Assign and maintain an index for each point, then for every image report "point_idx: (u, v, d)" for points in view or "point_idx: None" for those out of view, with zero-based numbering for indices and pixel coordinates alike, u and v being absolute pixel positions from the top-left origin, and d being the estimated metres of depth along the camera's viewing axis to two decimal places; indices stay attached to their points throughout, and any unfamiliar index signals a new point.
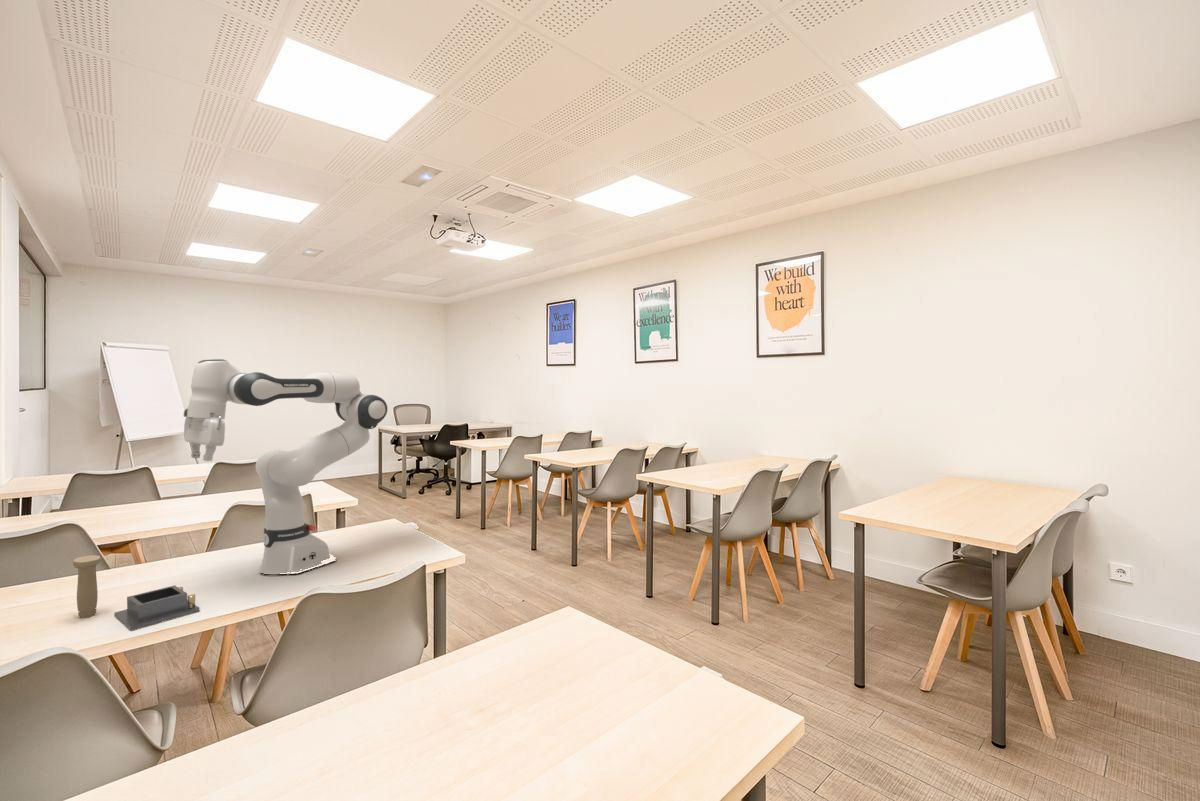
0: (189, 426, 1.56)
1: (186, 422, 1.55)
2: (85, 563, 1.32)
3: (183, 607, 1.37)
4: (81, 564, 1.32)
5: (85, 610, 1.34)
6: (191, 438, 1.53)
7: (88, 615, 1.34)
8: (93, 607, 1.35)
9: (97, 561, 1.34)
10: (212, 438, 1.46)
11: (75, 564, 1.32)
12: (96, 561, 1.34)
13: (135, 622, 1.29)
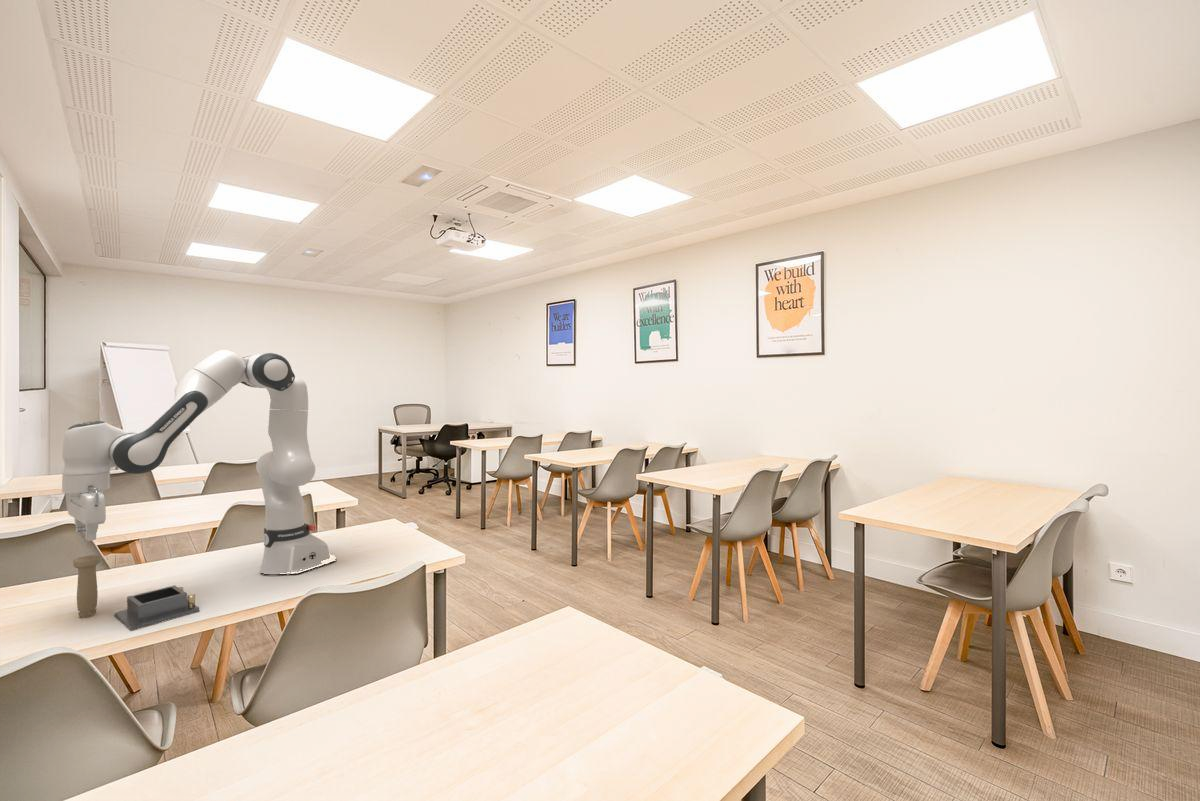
0: (70, 498, 1.37)
1: (66, 494, 1.37)
2: (85, 563, 1.32)
3: (183, 607, 1.37)
4: (81, 564, 1.32)
5: (85, 610, 1.34)
6: (73, 513, 1.35)
7: (88, 615, 1.34)
8: (93, 607, 1.35)
9: (97, 561, 1.34)
10: (89, 517, 1.28)
11: (75, 564, 1.32)
12: (96, 561, 1.34)
13: (135, 622, 1.29)
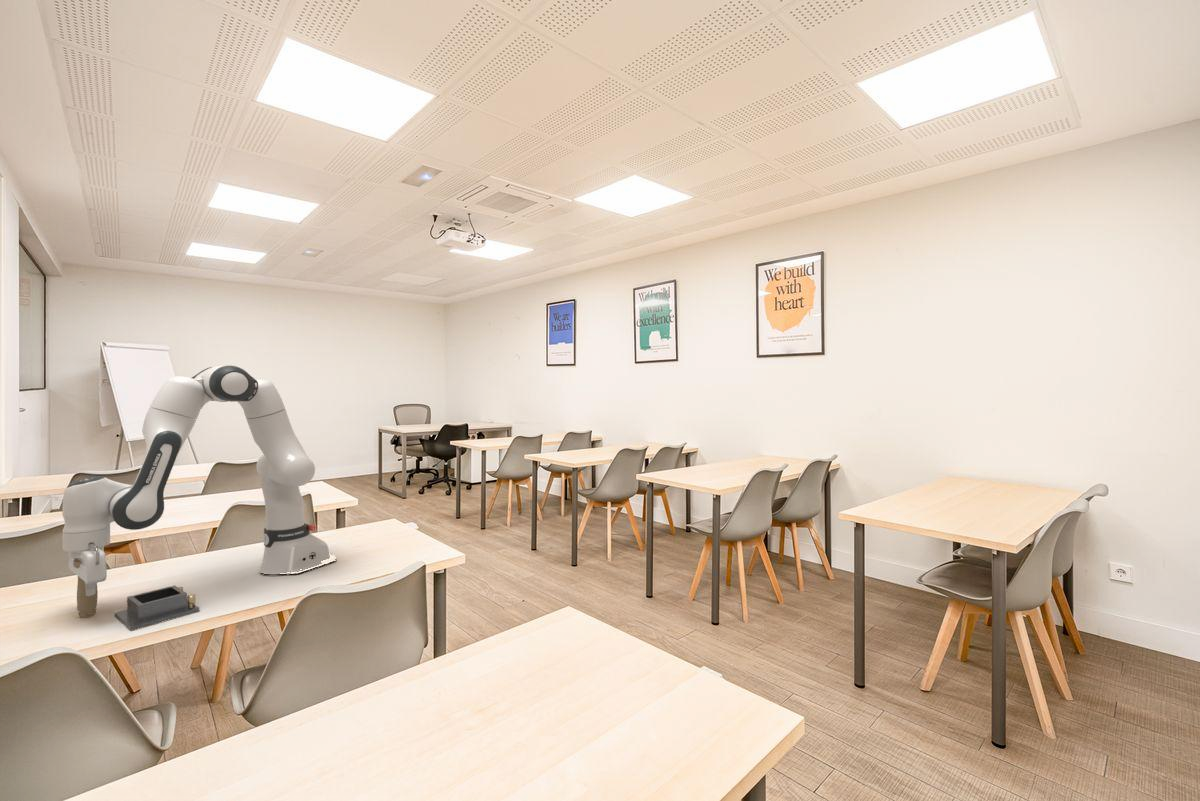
0: None
1: None
2: None
3: (183, 607, 1.37)
4: None
5: (85, 610, 1.34)
6: (74, 569, 1.35)
7: (88, 615, 1.34)
8: (93, 607, 1.35)
9: None
10: (90, 576, 1.28)
11: (75, 564, 1.32)
12: None
13: (135, 622, 1.29)
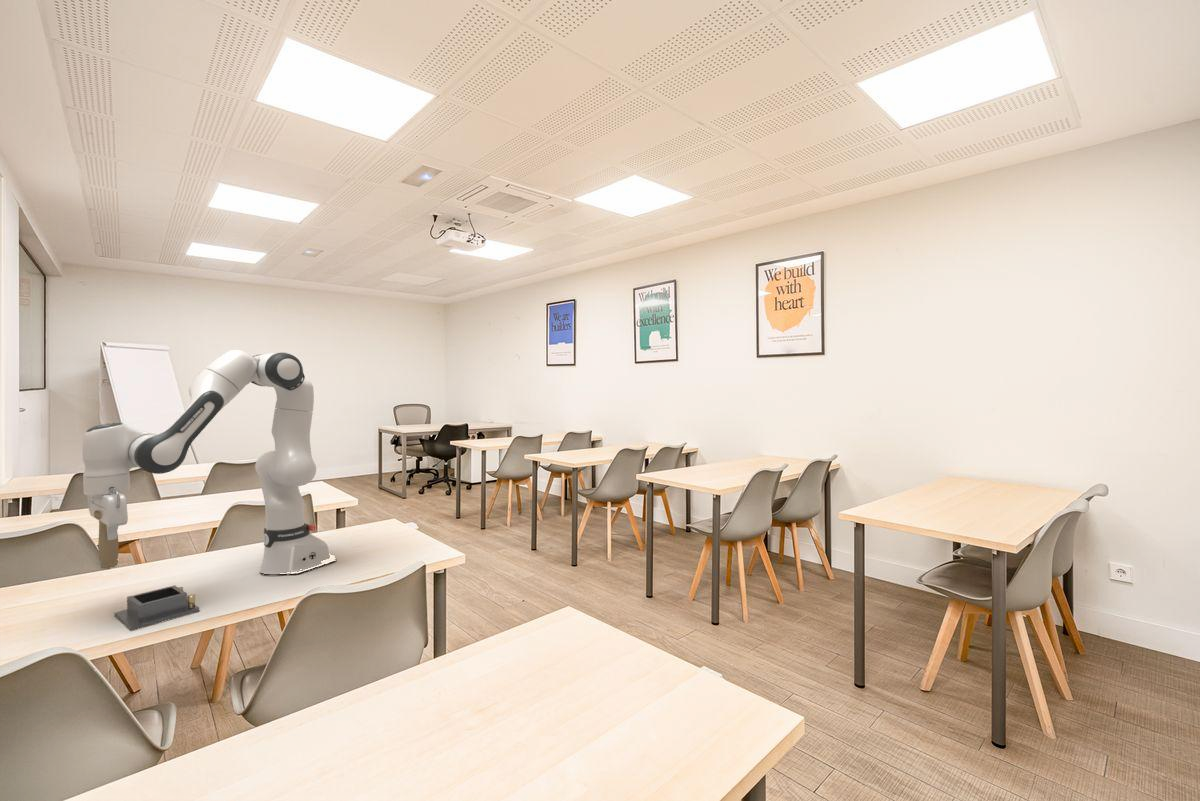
0: (92, 500, 1.38)
1: (88, 496, 1.38)
2: None
3: (183, 607, 1.37)
4: (101, 514, 1.32)
5: (107, 561, 1.34)
6: None
7: (110, 566, 1.35)
8: (114, 558, 1.35)
9: None
10: (111, 519, 1.29)
11: (96, 515, 1.33)
12: None
13: (135, 622, 1.29)
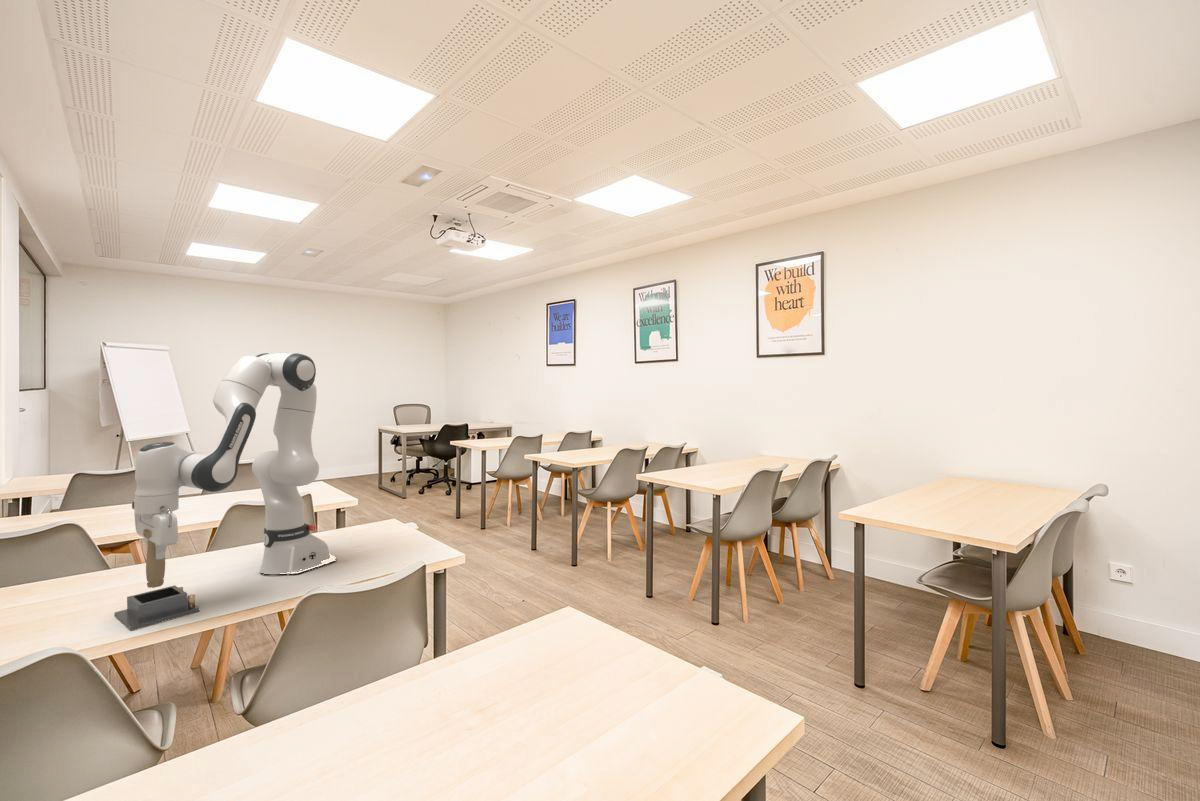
0: (140, 518, 1.39)
1: (136, 514, 1.39)
2: None
3: (183, 607, 1.37)
4: None
5: (154, 580, 1.35)
6: None
7: (156, 585, 1.35)
8: (161, 577, 1.36)
9: None
10: (163, 538, 1.29)
11: (145, 534, 1.33)
12: None
13: (135, 622, 1.29)
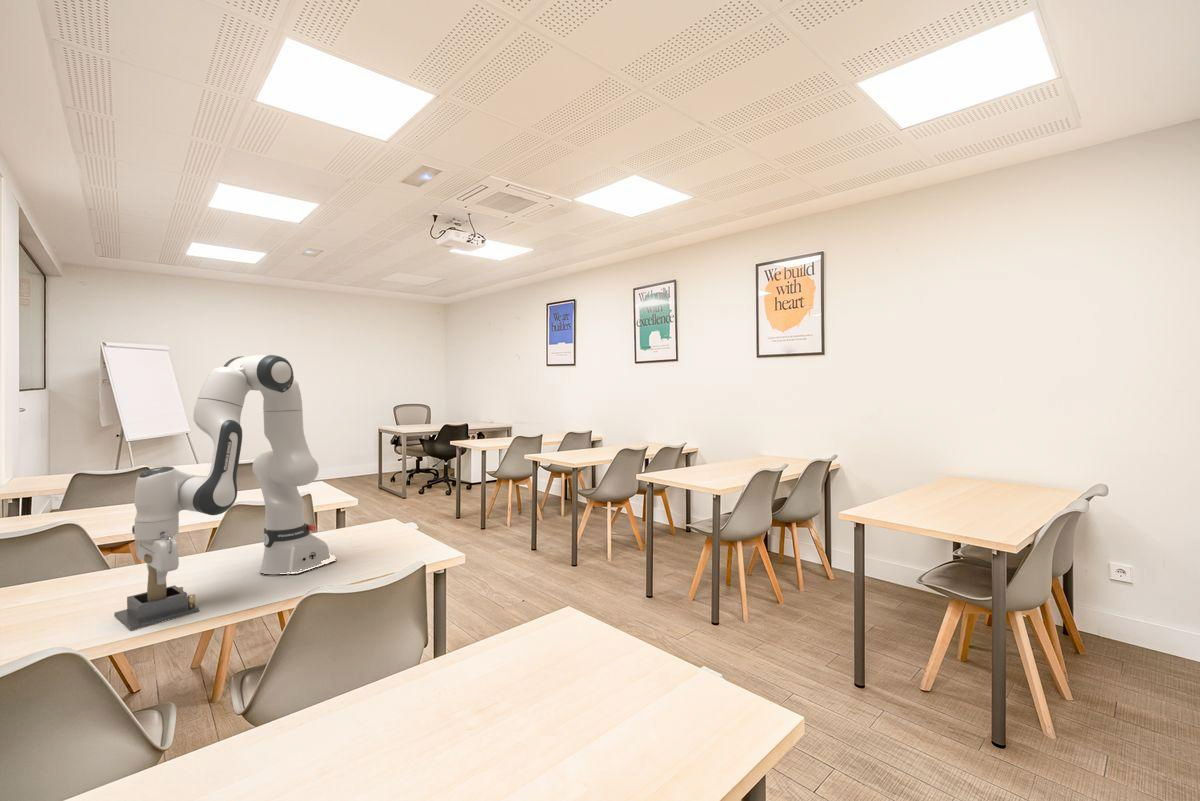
0: (140, 543, 1.39)
1: None
2: None
3: (183, 607, 1.37)
4: None
5: None
6: None
7: None
8: None
9: None
10: (164, 565, 1.30)
11: (146, 559, 1.34)
12: None
13: (135, 622, 1.29)
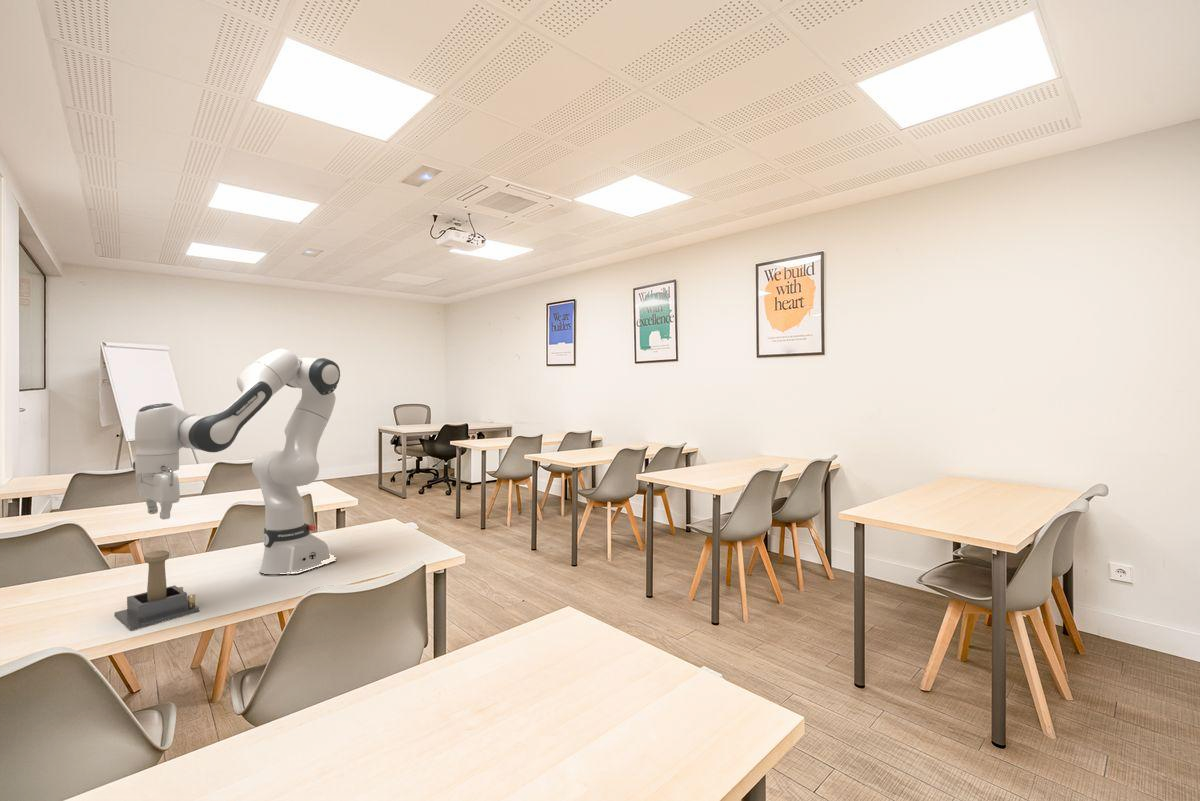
0: (141, 479, 1.40)
1: (137, 475, 1.40)
2: (156, 558, 1.34)
3: (183, 607, 1.37)
4: (152, 559, 1.33)
5: None
6: (145, 493, 1.38)
7: None
8: None
9: (166, 556, 1.36)
10: (165, 496, 1.31)
11: (146, 559, 1.34)
12: (166, 556, 1.35)
13: (135, 622, 1.29)
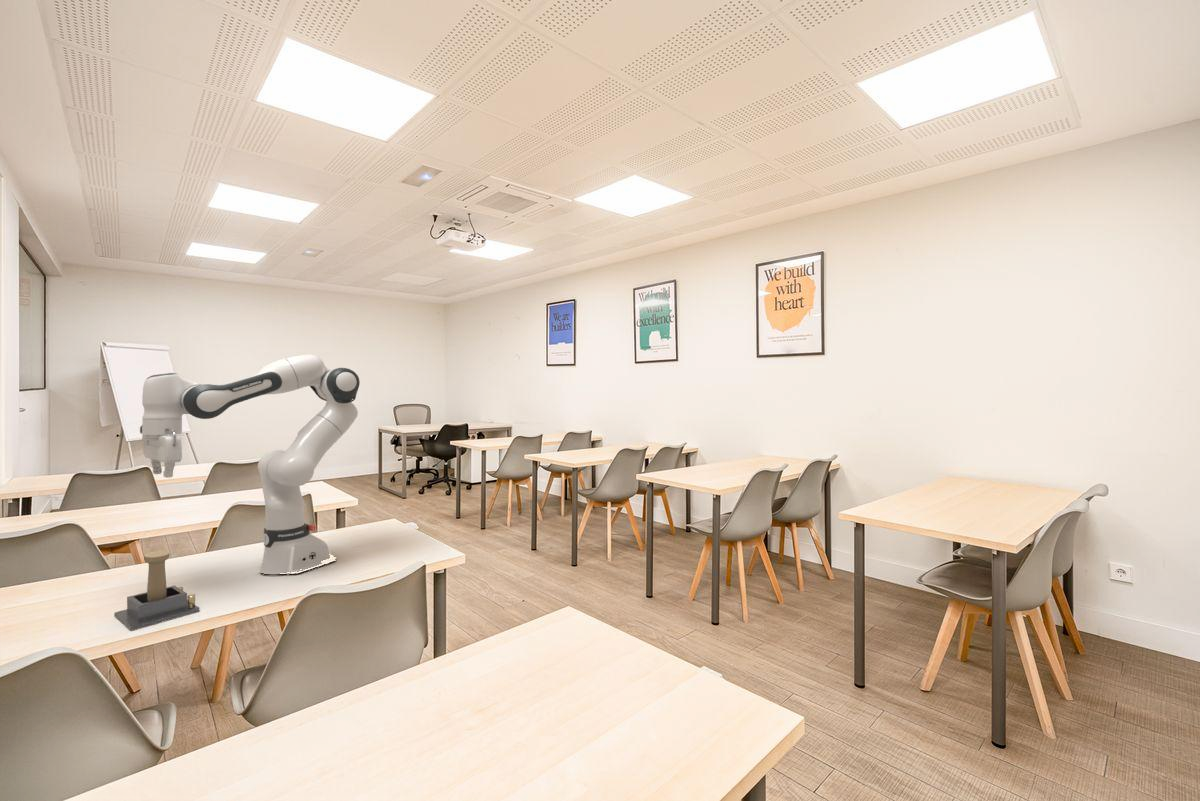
0: (147, 442, 1.54)
1: (143, 438, 1.54)
2: (155, 558, 1.34)
3: (183, 607, 1.37)
4: (152, 559, 1.33)
5: None
6: (150, 454, 1.52)
7: None
8: None
9: (166, 556, 1.36)
10: (168, 455, 1.44)
11: (146, 559, 1.34)
12: (166, 556, 1.35)
13: (135, 622, 1.29)
